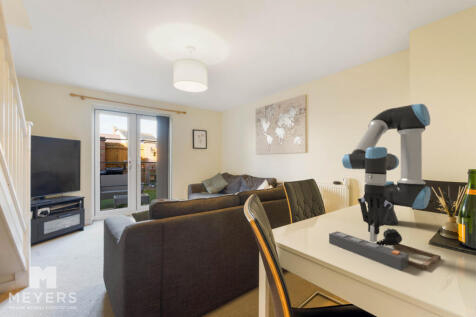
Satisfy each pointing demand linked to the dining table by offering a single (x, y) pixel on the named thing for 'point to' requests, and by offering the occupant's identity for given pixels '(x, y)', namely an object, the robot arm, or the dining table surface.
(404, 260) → the power strip
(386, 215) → the robot arm
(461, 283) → the dining table surface
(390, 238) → the power plug
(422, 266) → the bay
